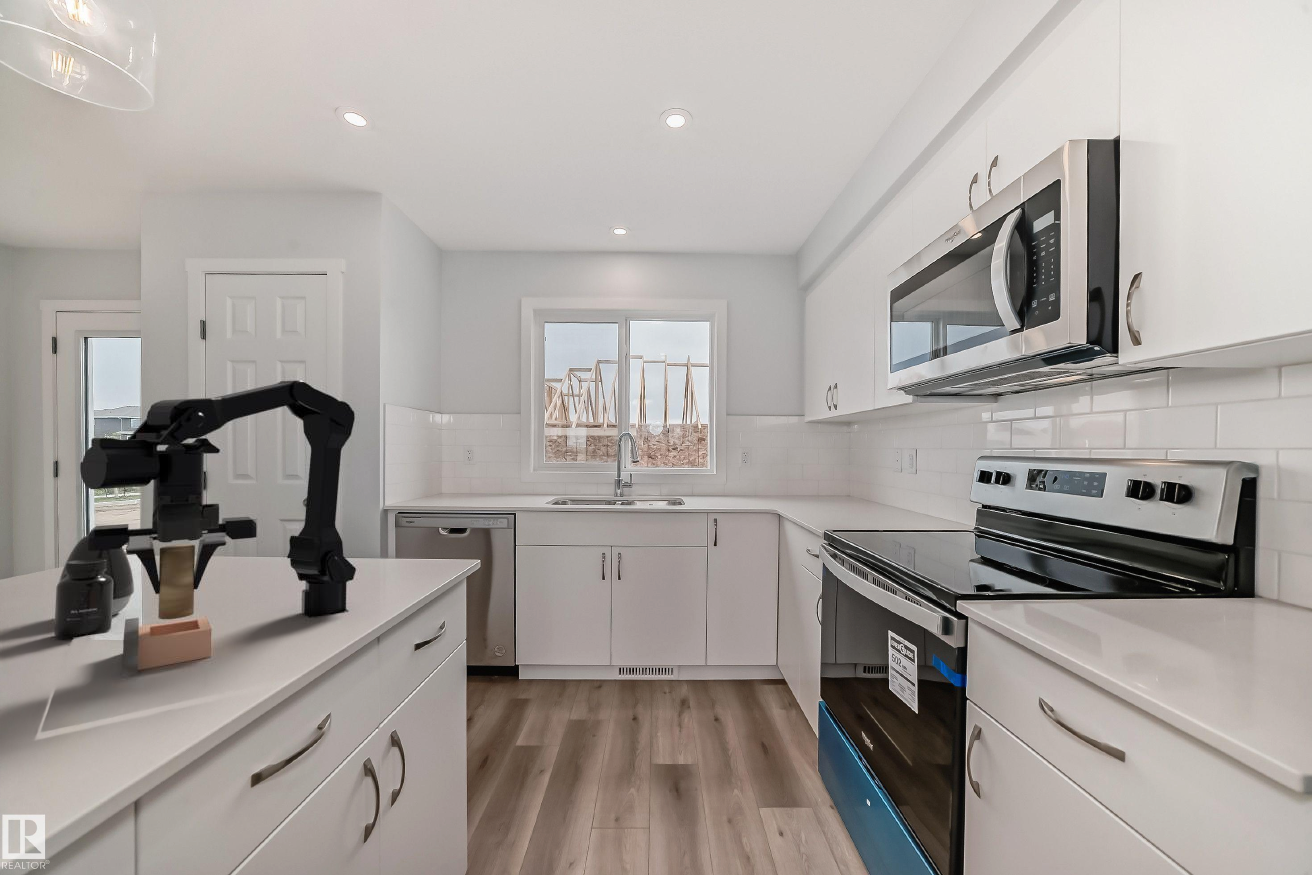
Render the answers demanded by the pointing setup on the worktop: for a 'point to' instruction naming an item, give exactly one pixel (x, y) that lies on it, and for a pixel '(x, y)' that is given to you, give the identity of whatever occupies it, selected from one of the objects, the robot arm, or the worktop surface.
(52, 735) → the worktop surface
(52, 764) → the worktop surface
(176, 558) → the dowel
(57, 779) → the worktop surface
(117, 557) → the pump dispenser
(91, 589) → the supplement bottle
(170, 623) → the slider block
